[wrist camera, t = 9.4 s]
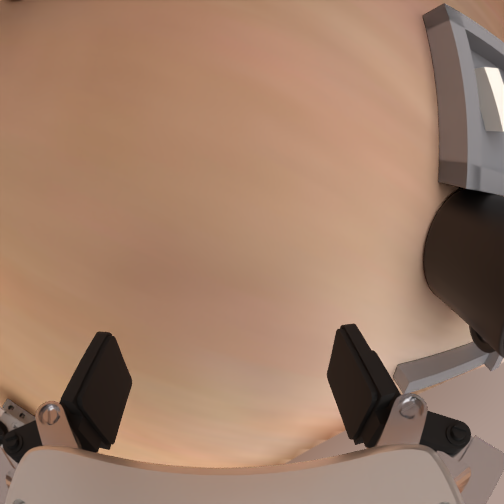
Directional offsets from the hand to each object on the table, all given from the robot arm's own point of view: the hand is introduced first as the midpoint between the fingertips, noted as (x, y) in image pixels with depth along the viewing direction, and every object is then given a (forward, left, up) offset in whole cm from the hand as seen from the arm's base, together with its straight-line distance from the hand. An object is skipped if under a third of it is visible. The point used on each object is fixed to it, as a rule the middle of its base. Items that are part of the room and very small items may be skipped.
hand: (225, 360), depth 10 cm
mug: (-1, +19, -7) cm, 20 cm away
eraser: (-15, +20, -6) cm, 26 cm away
